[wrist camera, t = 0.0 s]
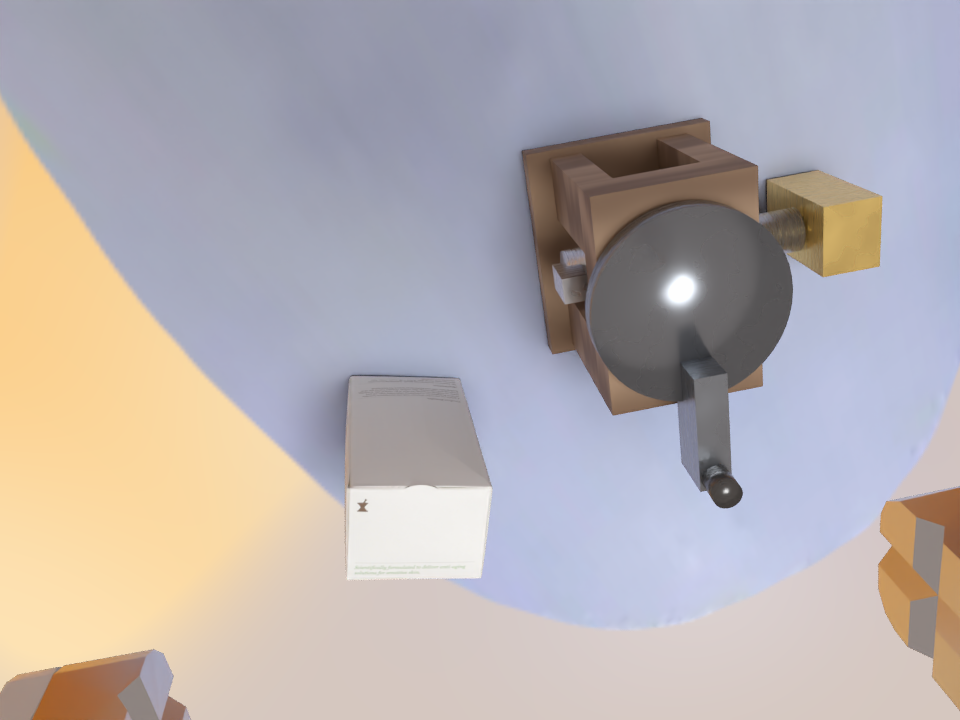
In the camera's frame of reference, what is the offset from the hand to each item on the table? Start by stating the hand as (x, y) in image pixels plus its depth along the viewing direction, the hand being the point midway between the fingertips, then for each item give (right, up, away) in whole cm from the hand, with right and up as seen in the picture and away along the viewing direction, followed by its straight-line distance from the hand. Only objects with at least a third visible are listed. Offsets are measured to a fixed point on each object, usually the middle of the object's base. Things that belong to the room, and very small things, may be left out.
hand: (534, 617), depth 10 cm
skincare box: (-6, -1, +52) cm, 53 cm away
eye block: (+9, +11, +49) cm, 51 cm away
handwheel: (+11, +4, +38) cm, 40 cm away
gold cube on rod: (+13, +12, +49) cm, 52 cm away
